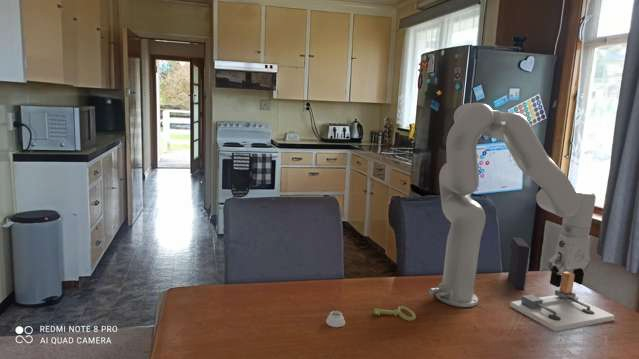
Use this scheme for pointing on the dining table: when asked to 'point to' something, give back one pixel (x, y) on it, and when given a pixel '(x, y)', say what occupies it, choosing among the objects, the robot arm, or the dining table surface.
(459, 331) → the dining table surface
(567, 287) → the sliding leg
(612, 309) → the dining table surface
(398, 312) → the key
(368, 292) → the dining table surface
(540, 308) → the gauge board
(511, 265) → the calculator
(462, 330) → the dining table surface
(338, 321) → the white jar
